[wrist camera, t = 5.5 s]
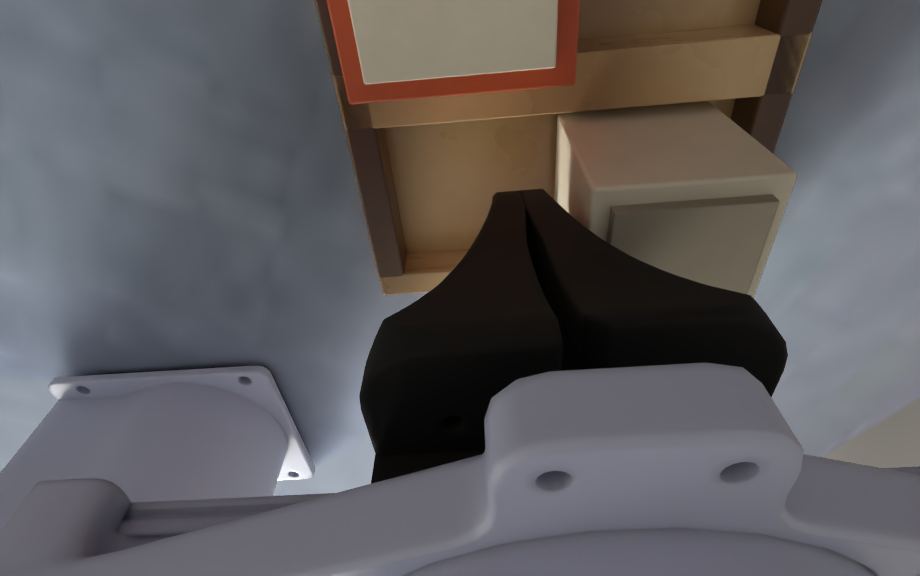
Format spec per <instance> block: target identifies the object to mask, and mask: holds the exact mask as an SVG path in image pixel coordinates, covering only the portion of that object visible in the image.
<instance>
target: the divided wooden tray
mask: <svg viewBox="0 0 920 576" xmlns="http://www.w3.org/2000/svg"><path fill="white" fill-rule="evenodd" d="M821 3H822V0H580V14H579V32H578V49H577V67H576V82H575V84H574V85H571V86H560V87H548V88H536V89H525V90H513V91H502V92H490V93H478V94H467V95H455V96H444V97H432V98H420V99H409V100H397V101H386V102H374V103H362V104H350V103H349V101H348V97H347V92H346V87H345V83H344V78H343V74H342V69H341V64H340V60H339V55H338V51H337V46H336V42H335V37H334V32H333V28H332V23H331V19H330V14H329V9H328V5H327V0H315V4H316V9H317V13H318V17H319V22H320V26H321V30H322V35H323V39H324V43H325V48H326V52H327V56H328V61H329V65H330V69H331V74H332V78H333V82H334V87H335V91H336V95H337V100H338V104H339V108H340V113H341V117H342V121H343V125H344V130H345V134H346V138H347V143H348V147H349V151H350V156H351V160H352V164H353V169H354V173H355V177H356V182H357V186H358V190H359V195H360V199H361V203H362V208H363V212H364V216H365V221H366V225H367V229H368V234H369V238H370V242H371V247H372V251H373V255H374V260H375V264H376V268H377V273H378V277H379V281H380V282H381V286H382V291H383V294H384V295H391V294H406V293H421V292H430V291H431V290H432V289H433V288H435V287H436V286H437V285H438V284H440V283H441V282H442V281H443V280H444V279H445V278H446V277H447V276H448V274H449V273H450V272H451V271H452V270H453V269H454V268H455V267H456V266H457V265H458V263H459V262H460V261H461V260H462V258H463V257H464V256H465V254H466V253H467V252H468V250H469V249H470V247H471V245H472V244H473V242H474V241H475V239H476V237H477V236H478V234H479V232H480V230H481V228H482V226H483V224H484V222H485V220H486V218H487V216H488V213H489V210H490V207H491V204H492V196H493V195H494V194H495V193H496V192H505V191H518V190H531V189H544V190H545V191H546V192H547V193H548V194H549V195H550V196H551V197H552V198H553V199H554V193H555V165H556V138H557V116H558V114H560V113H569V112H581V111H593V110H605V109H617V108H629V107H641V106H653V105H665V104H677V103H689V102H701V101H708V102H710V103H711V104H712V105H714V106H715V107H716V108H717V109H718V110H720V111H721V112H722V113H723V114H725V115H726V116H727V117H728V118H730V119H731V120H732V121H733V122H735V123H736V124H737V125H738V126H739V127H741V128H742V129H743V130H744V131H746V132H747V133H748V134H749V135H751V136H752V137H753V138H754V139H756V140H757V141H758V142H759V143H760V144H762V145H763V146H764V147H765V148H767V149H768V150H769V151H770V152H772V153H774V150H775V146H776V143H777V140H778V137H779V134H780V131H781V128H782V125H783V121H784V118H785V115H786V112H787V109H788V106H789V103H790V100H791V96H792V93H793V92H794V89H795V86H796V83H797V80H798V76H799V73H800V70H801V67H802V64H803V61H804V58H805V55H806V51H807V48H808V45H809V42H810V39H811V36H812V31H813V28H814V25H815V21H816V18H817V15H818V12H819V9H820V6H821Z"/></svg>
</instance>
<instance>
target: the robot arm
mask: <svg viewBox="0 0 920 576" xmlns="http://www.w3.org/2000/svg"><path fill="white" fill-rule="evenodd" d="M787 357H788V354H787V348H786V342H785V340H784V339H783V337H782V336H781V335H780V333H779V332H778V330H777V329H776V327H775V326H774V325H773V323H772V322H771V320H770V319H769V317H768V316H767V314H766V313H765V312H764V311H763V309H762V308H761V307H760V306H759V304H758V303H757V302H756V301H755V300H754V299H753V298H752V296H751V295H747V294H743V293H739V292H735V291H730V290H726V289H722V288H718V287H714V286H709V285H705V284H702V283H699V282H696V281H692V280H689V279H686V278H683V277H680V276H677V275H674V274H672V273H669V272H666V271H663V270H661V269H659V268H656V267H654V266H652V265H649V264H647V263H645V262H642V261H640V260H638V259H636V258H634V257H632V256H630V255H628V254H626V253H625V252H623V251H621V250H619V249H618V248H616V247H614V246H612V245H610V244H609V243H607V242H606V241H604V240H603V239H601V238H600V237H598V236H597V235H596V234H594V233H593V232H591V231H590V230H589V229H587V228H586V227H585V226H583V225H582V224H581V223H579V222H578V221H577V220H576V219H575V218H574V217H572V216H571V215H570V214H569V213H568V212H567V211H566V210H565V209H563V208H562V207H561V206H560V205H559V204H558V203H557V202H556V201H555V200H554V199H553V198H552V197H551V196H550V195H549V194H548V193H547V192H546V191H545V190H544V189H531V190H518V191H505V192H496V193H495V194H494V195H493V196H492V204H491V207H490V210H489V213H488V216H487V218H486V220H485V222H484V224H483V226H482V228H481V230H480V232H479V234H478V236H477V237H476V239H475V241H474V242H473V244H472V245H471V247H470V249H469V250H468V252H467V253H466V254H465V256H464V257H463V258H462V260H461V261H460V262H459V263H458V265H457V266H456V267H455V268H454V269H453V270H452V271H451V272H450V273H449V274H448V276H447V277H446V278H445V279H444V280H443V281H442V282H441V283H440V284H438V285H437V286H436V287H435V288H433V289H432V290H431V291H430V292H428V293H427V294H426V295H424V296H423V297H421V298H420V299H419V300H417V301H416V302H414V303H413V304H411V305H409V306H407V307H406V308H404V309H402V310H400V311H399V312H397V313H395V314H393V315H392V316H390V317H388V318H386V319H384V320H383V322H382V324H381V326H380V328H379V331H378V333H377V335H376V337H375V340H374V342H373V345H372V348H371V350H370V353H369V356H368V359H367V362H366V366H365V370H364V375H363V381H362V386H361V391H360V404H361V411H362V414H363V417H364V420H365V423H366V426H367V429H368V432H369V435H370V438H371V441H372V444H373V447H374V450H375V453H376V455H375V461H374V468H373V474H372V481H371V484H369V485H365V486H361V487H357V488H354V489H350V490H346V491H342V492H338V493H329V494H307V495H285V496H273V493H274V490H275V487H276V484H277V481H278V480H290V479H308V478H311V477H312V476H313V475H314V472H315V466H314V464H313V462H312V460H311V458H310V456H309V453H308V451H307V449H306V447H305V445H304V443H303V441H302V439H301V436H300V434H299V432H298V430H297V428H296V426H295V424H294V421H293V419H292V417H291V415H290V413H289V411H288V409H287V406H286V404H285V402H284V400H283V398H282V396H281V394H280V391H279V389H278V387H277V385H276V383H275V381H274V379H273V377H272V374H271V373H270V371H269V370H268V369H266V368H265V367H262V366H239V367H222V368H205V369H188V370H171V371H154V372H138V373H121V374H104V375H87V376H70V377H58V378H55V379H54V380H53V381H52V382H51V383H50V384H49V385H48V389H49V390H50V392H51V393H52V394H53V395H54V396H55V398H56V399H57V400H58V402H57V403H56V404H55V406H54V407H53V408H52V409H51V411H50V412H49V413H48V414H47V415H46V417H45V418H44V419H43V420H42V422H41V423H40V424H39V425H38V427H37V428H36V429H35V430H34V432H33V433H32V434H31V435H30V437H29V438H28V439H27V440H26V442H25V443H24V444H23V445H22V447H21V448H20V449H19V450H18V452H17V453H16V454H15V455H14V457H13V458H12V459H11V460H10V462H9V463H8V464H7V465H6V467H5V468H4V469H3V470H2V472H1V473H0V576H920V467H901V468H877V467H872V466H866V465H860V464H855V463H850V462H844V461H839V460H833V459H827V458H822V457H816V456H811V455H805V454H803V448H802V446H801V445H800V443H799V442H798V440H797V438H796V437H795V435H794V434H793V432H792V430H791V429H790V427H789V426H788V424H787V422H786V421H785V419H784V418H783V416H782V414H781V413H780V411H779V410H778V408H777V406H776V405H775V403H774V402H773V400H772V398H771V397H772V395H773V393H774V390H775V388H776V386H777V384H778V382H779V380H780V377H781V375H782V373H783V371H784V368H785V364H786V360H787ZM247 377H248V378H247Z"/></svg>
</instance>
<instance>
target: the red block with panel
mask: <svg viewBox="0 0 920 576" xmlns="http://www.w3.org/2000/svg"><path fill="white" fill-rule="evenodd" d="M327 5H328V9H329V14H330V19H331V23H332V28H333V32H334V37H335V42H336V46H337V51H338V55H339V60H340V64H341V69H342V74H343V78H344V83H345V87H346V92H347V97H348V101H349V103H350V104H362V103H374V102H386V101H397V100H409V99H420V98H432V97H444V96H455V95H467V94H478V93H490V92H502V91H513V90H525V89H536V88H548V87H560V86H571V85H574V84H575V82H576V67H577V49H578V32H579V14H580V0H327Z"/></svg>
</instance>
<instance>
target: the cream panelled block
mask: <svg viewBox="0 0 920 576" xmlns="http://www.w3.org/2000/svg"><path fill="white" fill-rule="evenodd" d="M796 179H797V173H796V172H795V171H794V170H793V169H791V168H790V167H789V166H788V165H786V164H785V163H784V162H783V161H781V160H780V159H779V158H778V157H777V156H775V155H774V154H773V153H772V152H770V151H769V150H768V149H767V148H765V147H764V146H763V145H762V144H760V143H759V142H758V141H757V140H756V139H754V138H753V137H752V136H751V135H749V134H748V133H747V132H746V131H744V130H743V129H742V128H741V127H739V126H738V125H737V124H736V123H735V122H733V121H732V120H731V119H730V118H728V117H727V116H726V115H725V114H723V113H722V112H721V111H720V110H718V109H717V108H716V107H715V106H714V105H712V104H711V103H710V102H708V101H701V102H689V103H677V104H665V105H653V106H641V107H629V108H617V109H605V110H593V111H581V112H569V113H560V114H558V116H557V138H556V165H555V193H554V200H555V201H556V202H557V203H558V204H559V205H560V206H561V207H562V208H563V209H565V210H566V211H567V212H568V213H569V214H570V215H571V216H572V217H574V218H575V219H576V220H577V221H578V222H579V223H581V224H582V225H583V226H585V227H586V228H587V229H589V230H590V231H591V232H593V233H594V234H596V235H597V236H598V237H600V238H601V239H603V240H604V241H606V242H607V243H609V244H610V245H612V246H614V247H616V248H618V249H619V250H621V251H623V252H625V253H626V254H628V255H630V256H632V257H634V258H636V259H638V260H640V261H642V262H645V263H647V264H649V265H652V266H654V267H656V268H659V269H661V270H663V271H666V272H669V273H672V274H674V275H677V276H680V277H683V278H686V279H689V280H692V281H696V282H699V283H702V284H705V285H709V286H714V287H718V288H722V289H726V290H730V291H735V292H739V293H743V294H747V295H751V296H752V298H753V297H754V295H755V292H756V289H757V286H758V284H759V281H760V278H761V275H762V273H763V270H764V267H765V264H766V261H767V259H768V256H769V253H770V250H771V248H772V245H773V242H774V239H775V237H776V234H777V231H778V228H779V226H780V223H781V220H782V217H783V214H784V212H785V209H786V206H787V203H788V201H789V198H790V195H791V192H792V190H793V187H794V184H795V181H796Z"/></svg>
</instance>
